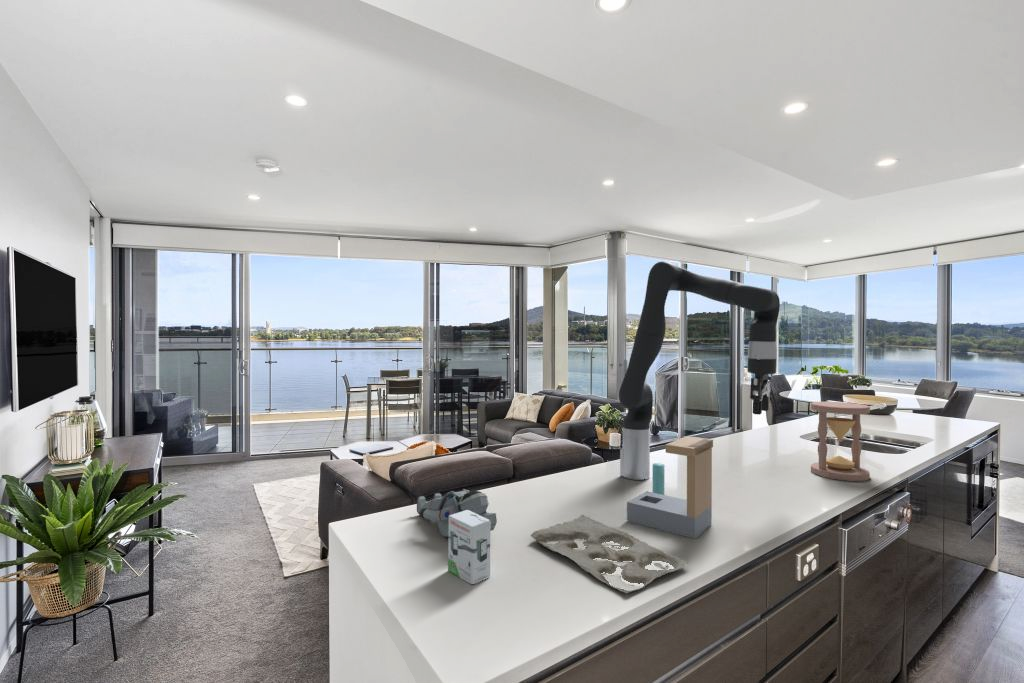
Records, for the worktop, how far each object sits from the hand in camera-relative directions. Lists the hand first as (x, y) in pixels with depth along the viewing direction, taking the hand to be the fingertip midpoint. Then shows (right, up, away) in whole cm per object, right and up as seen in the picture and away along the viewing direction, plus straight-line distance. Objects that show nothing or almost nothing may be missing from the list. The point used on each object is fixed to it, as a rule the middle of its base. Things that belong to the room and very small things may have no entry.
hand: (760, 412), depth 143 cm
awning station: (-32, -27, -14) cm, 44 cm away
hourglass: (+44, -27, +31) cm, 61 cm away
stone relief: (-53, -28, -33) cm, 68 cm away
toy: (-88, -27, -19) cm, 94 cm away
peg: (-29, -27, +2) cm, 40 cm away
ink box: (-82, -27, -43) cm, 96 cm away
